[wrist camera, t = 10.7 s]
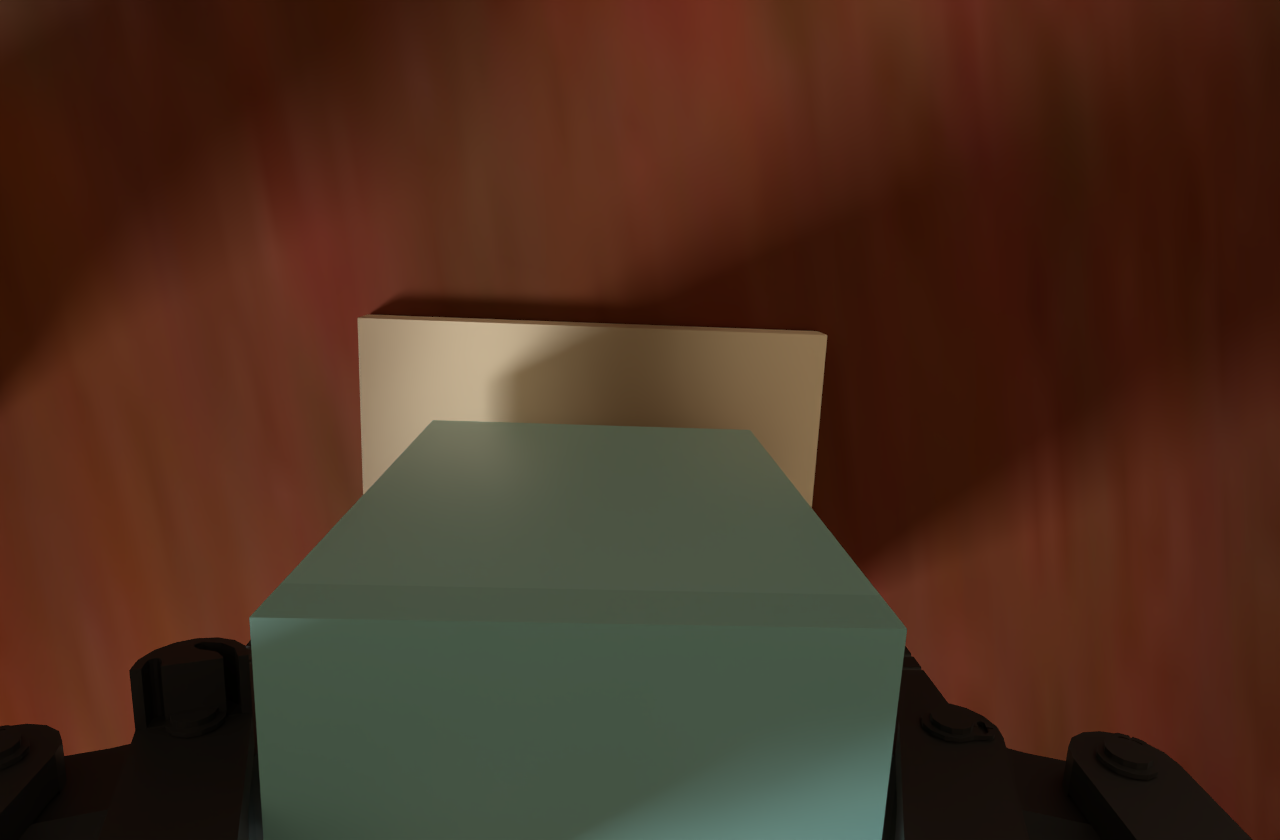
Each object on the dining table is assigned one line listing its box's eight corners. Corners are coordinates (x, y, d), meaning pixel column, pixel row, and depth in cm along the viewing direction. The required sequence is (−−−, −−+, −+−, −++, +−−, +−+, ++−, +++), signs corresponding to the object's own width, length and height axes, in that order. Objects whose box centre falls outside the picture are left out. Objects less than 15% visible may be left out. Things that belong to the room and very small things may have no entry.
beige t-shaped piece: (379, 723, 20) (180, 1162, 11) (368, 314, 18) (105, 400, 8) (782, 727, 21) (939, 1146, 11) (817, 331, 19) (1048, 429, 9)
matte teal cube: (436, 708, 18) (282, 1146, 9) (432, 420, 16) (248, 617, 8) (729, 712, 18) (845, 1138, 10) (749, 430, 17) (906, 629, 8)
